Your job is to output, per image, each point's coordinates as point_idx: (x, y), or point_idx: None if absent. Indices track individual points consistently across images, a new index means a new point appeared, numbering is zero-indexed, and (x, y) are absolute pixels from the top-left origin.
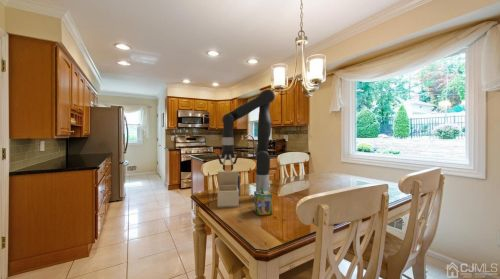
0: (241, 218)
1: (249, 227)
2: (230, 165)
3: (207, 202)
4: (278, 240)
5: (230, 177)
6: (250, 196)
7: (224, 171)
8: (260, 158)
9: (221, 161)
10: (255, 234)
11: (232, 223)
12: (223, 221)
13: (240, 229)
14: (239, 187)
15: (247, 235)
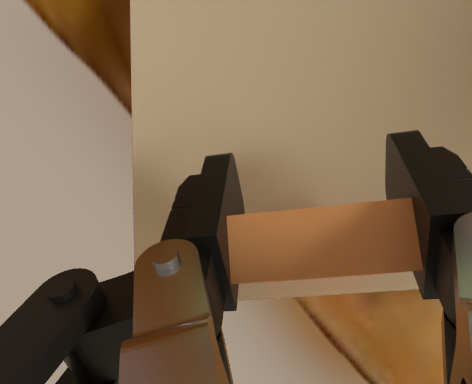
0: None
1: (411, 338)
2: (402, 271)
3: (98, 21)
4: None
5: (348, 129)
6: None
7: (255, 299)
8: None
9: (69, 344)
10: (424, 373)
11: (337, 312)
12: (294, 297)
13: (371, 348)
14: None
15: (393, 376)
